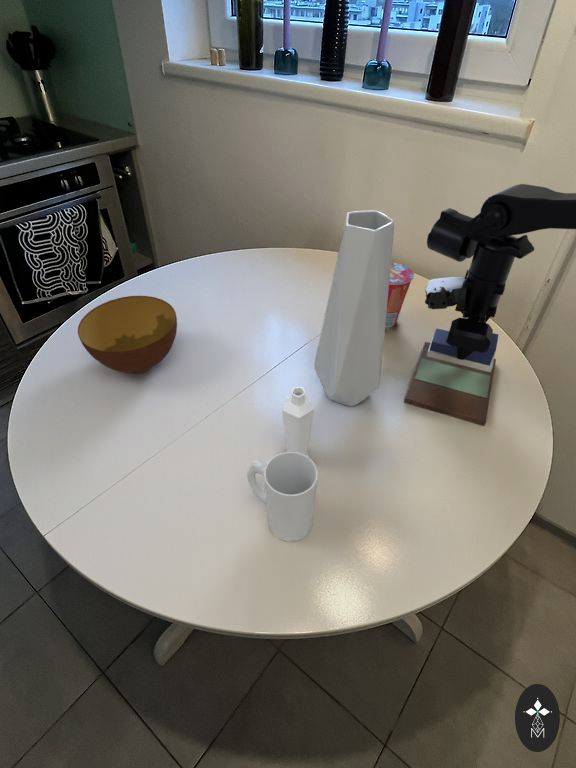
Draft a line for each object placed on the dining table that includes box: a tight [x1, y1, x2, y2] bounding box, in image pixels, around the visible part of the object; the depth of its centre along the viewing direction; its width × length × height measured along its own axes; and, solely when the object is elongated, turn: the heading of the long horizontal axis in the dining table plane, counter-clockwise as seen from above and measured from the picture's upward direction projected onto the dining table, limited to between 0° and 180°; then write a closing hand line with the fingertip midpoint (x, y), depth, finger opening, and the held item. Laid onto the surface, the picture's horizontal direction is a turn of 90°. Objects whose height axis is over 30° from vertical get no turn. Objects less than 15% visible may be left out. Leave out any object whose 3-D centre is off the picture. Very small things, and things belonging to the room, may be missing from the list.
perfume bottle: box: [281, 386, 315, 457], centre depth 68 cm, size 5×4×15 cm
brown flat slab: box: [403, 341, 497, 427], centre depth 86 cm, size 14×18×1 cm
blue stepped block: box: [427, 328, 499, 372], centre depth 80 cm, size 11×5×5 cm, turn 66°
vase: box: [313, 209, 395, 407], centre depth 73 cm, size 12×12×33 cm
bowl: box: [77, 295, 178, 374], centre depth 87 cm, size 18×18×10 cm
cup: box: [385, 262, 415, 329], centre depth 96 cm, size 9×8×12 cm
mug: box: [246, 451, 319, 543], centre depth 61 cm, size 10×7×12 cm, turn 62°
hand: (462, 350), depth 81 cm, fingers closed on blue stepped block, 4 cm apart
